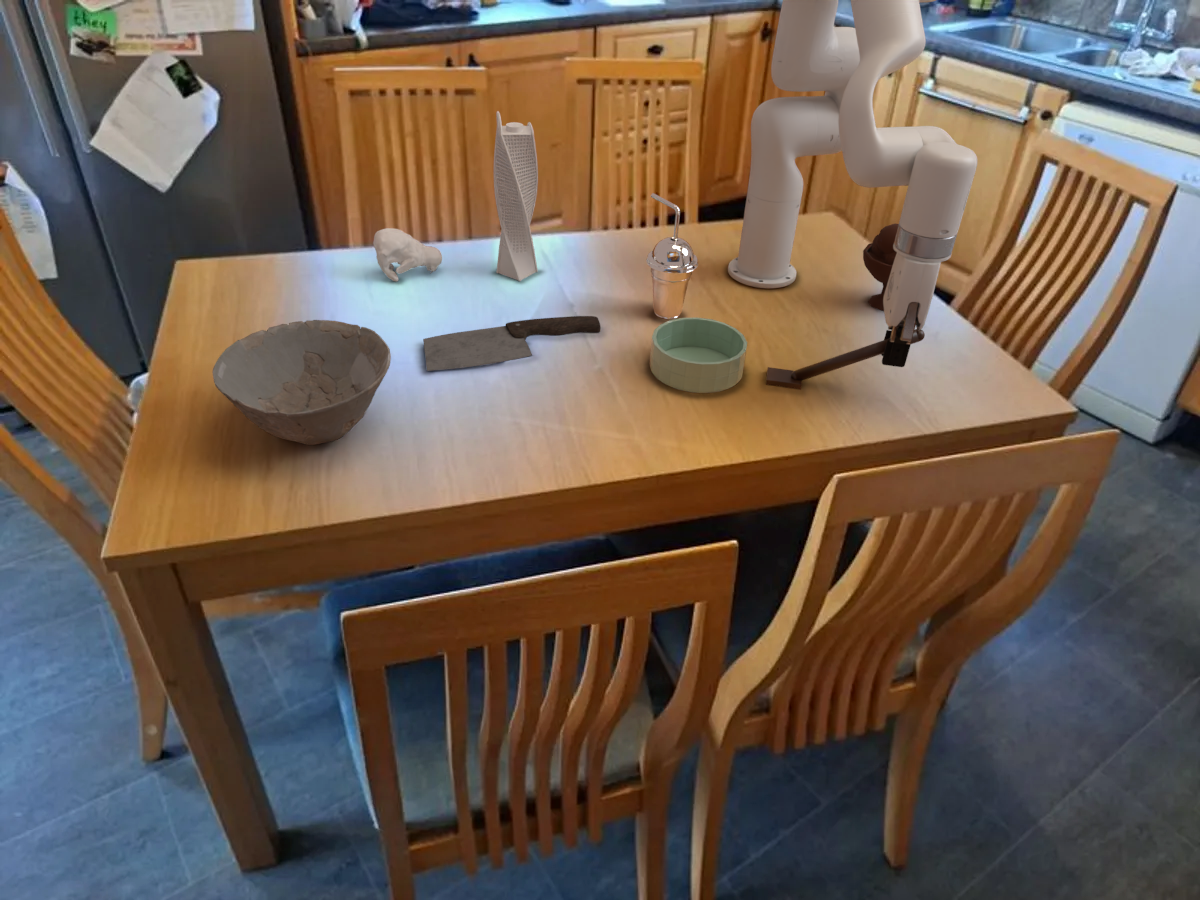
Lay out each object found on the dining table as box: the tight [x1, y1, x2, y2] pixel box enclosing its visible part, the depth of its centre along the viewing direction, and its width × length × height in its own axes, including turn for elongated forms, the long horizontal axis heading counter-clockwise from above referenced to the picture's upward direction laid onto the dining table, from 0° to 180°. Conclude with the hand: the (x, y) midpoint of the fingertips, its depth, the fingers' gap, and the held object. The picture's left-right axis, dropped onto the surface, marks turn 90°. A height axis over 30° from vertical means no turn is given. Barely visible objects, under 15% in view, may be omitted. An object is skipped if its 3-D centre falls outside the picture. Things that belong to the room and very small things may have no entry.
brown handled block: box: [765, 328, 925, 391], centre depth 130 cm, size 21×4×11 cm, turn 79°
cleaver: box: [422, 315, 601, 372], centre depth 140 cm, size 30×10×2 cm, turn 110°
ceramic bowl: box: [212, 319, 392, 446], centre depth 118 cm, size 22×23×10 cm
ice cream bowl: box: [862, 223, 899, 311], centre depth 153 cm, size 11×11×15 cm
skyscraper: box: [493, 110, 539, 282], centre depth 154 cm, size 8×8×28 cm
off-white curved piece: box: [372, 227, 443, 283], centre depth 157 cm, size 6×8×12 cm
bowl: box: [649, 316, 748, 394], centre depth 135 cm, size 14×14×6 cm
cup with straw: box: [645, 192, 699, 320], centre depth 145 cm, size 8×9×20 cm
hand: (892, 360), depth 129 cm, fingers closed on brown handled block
